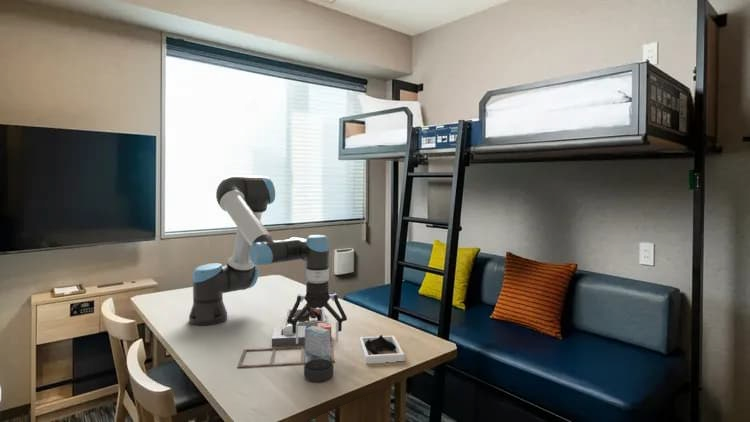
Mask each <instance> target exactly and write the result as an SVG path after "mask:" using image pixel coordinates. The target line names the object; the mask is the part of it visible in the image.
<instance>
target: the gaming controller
mask: <svg viewBox="0 0 750 422" xmlns="http://www.w3.org/2000/svg"><path fill="white" fill-rule="evenodd" d="M379 336H380V337H379V338H377V339H374V340H372V341H370V339H369V340H368V341H366V343H365V347H366V350H367V353H368V354H369V355H379V351H380V350H381V351H383V350H385V349H386V350H388V351H395V345H394V344H393V343H392V342H390V341H388V340H386V339H384V338H383V337H382V336H383V334H381V335H379ZM381 351H380V352H381Z"/></svg>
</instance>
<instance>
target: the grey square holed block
mask: <svg viewBox="0 0 750 422" xmlns="http://www.w3.org/2000/svg"><path fill="white" fill-rule="evenodd" d="M284 327H285V326H274V327H273V332H272V336H271V348H278V347H297V346H305V329H306V326H298V344H296V334H295V335H283V328H284Z"/></svg>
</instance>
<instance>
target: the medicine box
mask: <svg viewBox="0 0 750 422" xmlns="http://www.w3.org/2000/svg"><path fill="white" fill-rule="evenodd" d="M330 345H331V340H330V330H328V329H324V328H320V327H316V326H311V327H309V328H307V329H305V345H304V346H305V348H304V354H306V353H307V354H311V355H314V356H317V357H321V358H323V357H325V356H327V355H329V356H330V355H331V354H330Z"/></svg>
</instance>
